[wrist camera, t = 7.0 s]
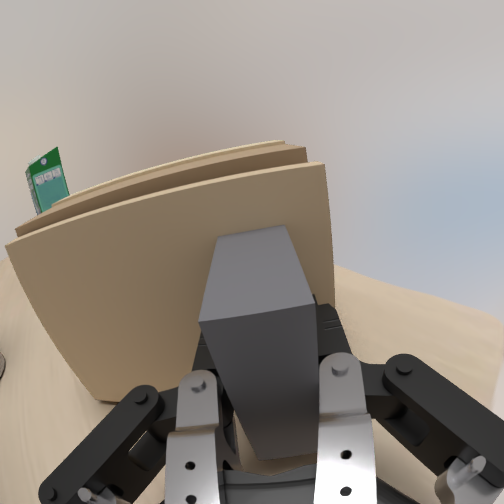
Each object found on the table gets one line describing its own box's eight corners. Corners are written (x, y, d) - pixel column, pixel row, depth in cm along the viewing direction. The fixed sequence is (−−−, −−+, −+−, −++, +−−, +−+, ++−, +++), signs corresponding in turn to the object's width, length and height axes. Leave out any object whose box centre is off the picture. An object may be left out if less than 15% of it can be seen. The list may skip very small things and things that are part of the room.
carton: (103, 390, 16) (13, 225, 11) (137, 304, 27) (93, 184, 22) (324, 360, 17) (305, 142, 11) (287, 274, 28) (266, 139, 22)
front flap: (74, 455, 10) (-55, 292, 6) (99, 389, 16) (15, 238, 11) (354, 457, 10) (393, 196, 5) (330, 372, 15) (317, 161, 10)
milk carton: (48, 248, 61) (23, 163, 51) (74, 234, 67) (50, 153, 57) (55, 251, 56) (26, 157, 46) (83, 236, 62) (57, 145, 52)
